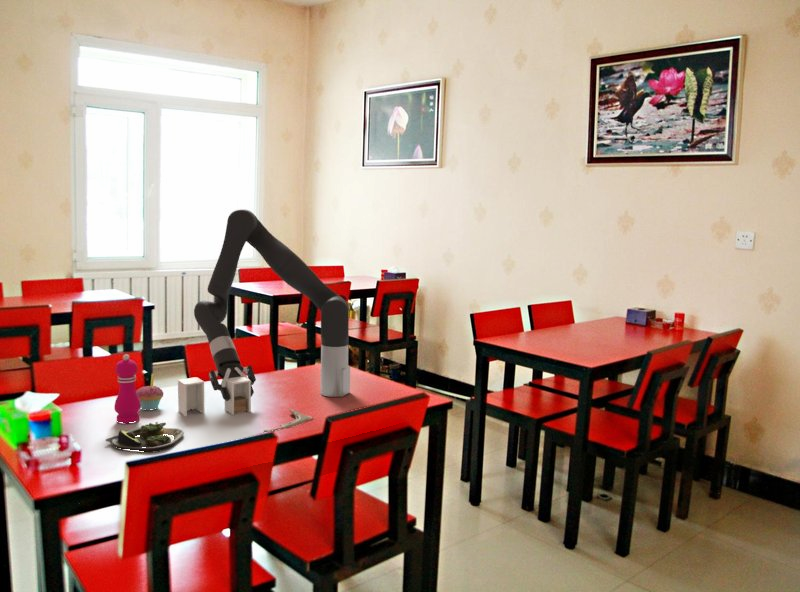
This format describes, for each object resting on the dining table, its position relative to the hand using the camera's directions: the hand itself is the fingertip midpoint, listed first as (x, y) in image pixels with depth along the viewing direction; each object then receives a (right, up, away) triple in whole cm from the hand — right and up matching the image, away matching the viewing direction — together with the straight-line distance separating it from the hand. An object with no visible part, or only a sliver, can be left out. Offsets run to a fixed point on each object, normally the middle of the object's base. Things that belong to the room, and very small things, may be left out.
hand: (239, 397), depth 214 cm
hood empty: (-15, -4, -1) cm, 15 cm away
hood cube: (-1, -4, +2) cm, 5 cm away
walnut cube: (-1, -4, +2) cm, 5 cm away
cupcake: (-29, -4, +1) cm, 29 cm away
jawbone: (+14, -7, -8) cm, 18 cm away
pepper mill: (-30, -5, -11) cm, 33 cm away
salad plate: (-19, -9, -27) cm, 34 cm away
